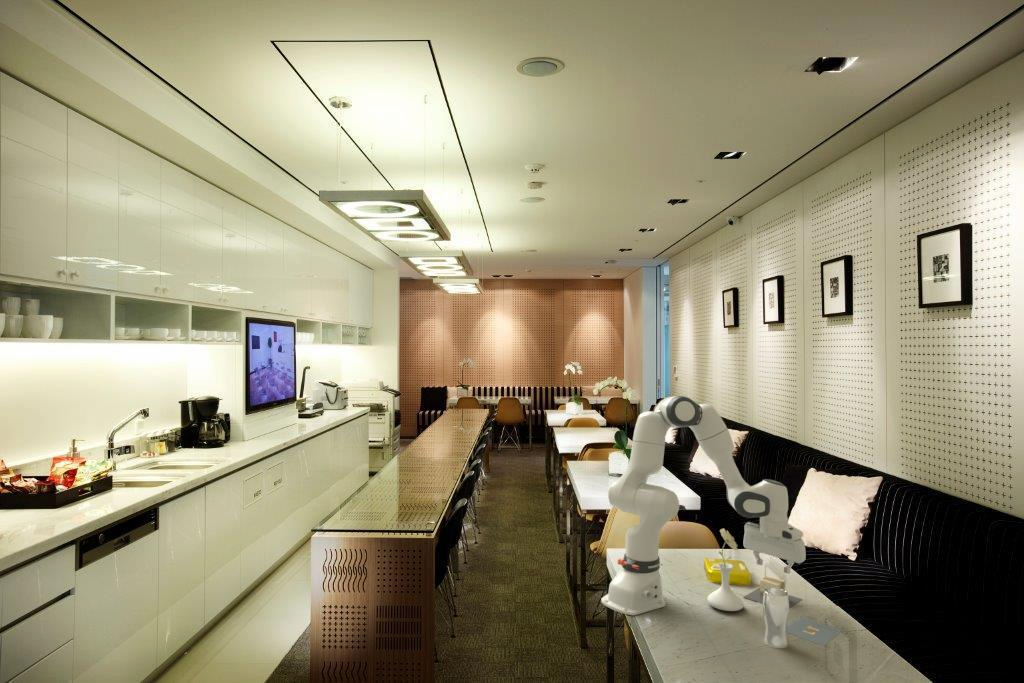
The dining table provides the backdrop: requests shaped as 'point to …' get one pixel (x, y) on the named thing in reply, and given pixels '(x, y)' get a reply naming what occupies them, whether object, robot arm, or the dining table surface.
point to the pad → (756, 598)
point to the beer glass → (775, 616)
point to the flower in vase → (725, 582)
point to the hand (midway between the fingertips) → (773, 568)
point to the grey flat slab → (812, 631)
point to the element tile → (737, 574)
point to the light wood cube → (770, 584)
